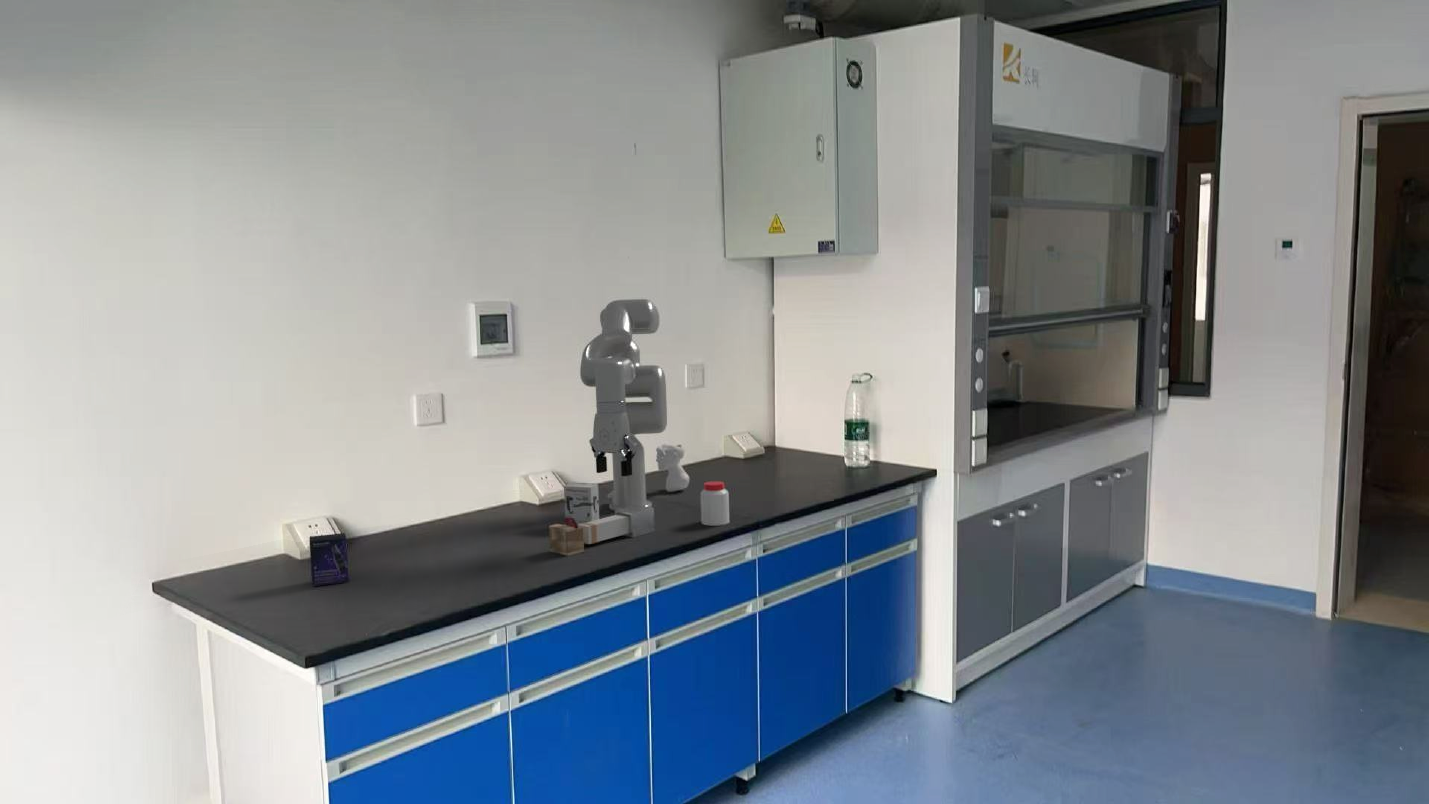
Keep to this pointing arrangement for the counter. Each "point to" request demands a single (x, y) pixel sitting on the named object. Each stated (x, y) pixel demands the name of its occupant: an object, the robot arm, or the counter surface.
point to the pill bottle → (714, 504)
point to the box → (328, 559)
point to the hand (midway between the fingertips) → (614, 473)
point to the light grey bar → (605, 528)
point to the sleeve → (639, 519)
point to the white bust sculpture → (672, 466)
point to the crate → (566, 539)
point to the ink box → (581, 503)
